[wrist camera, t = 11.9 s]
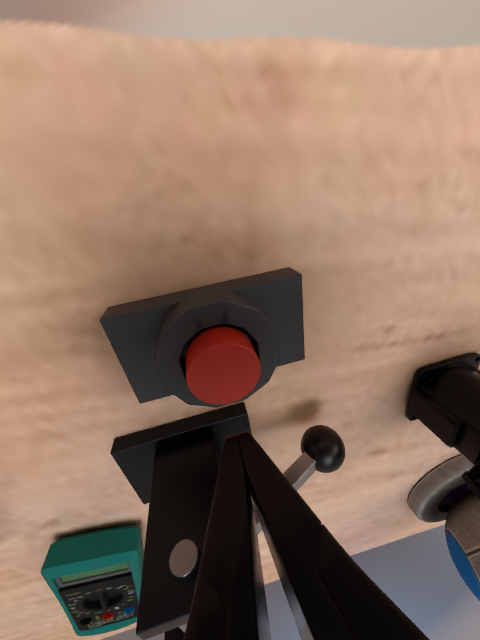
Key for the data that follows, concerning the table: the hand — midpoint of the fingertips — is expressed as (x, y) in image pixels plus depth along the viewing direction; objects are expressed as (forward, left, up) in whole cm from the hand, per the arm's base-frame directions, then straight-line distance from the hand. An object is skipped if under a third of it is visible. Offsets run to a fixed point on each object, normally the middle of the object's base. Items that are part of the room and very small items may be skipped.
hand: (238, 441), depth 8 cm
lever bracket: (+4, +11, -8) cm, 14 cm away
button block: (0, 0, -8) cm, 8 cm away
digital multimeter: (+16, +24, -9) cm, 30 cm away
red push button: (0, 0, -5) cm, 5 cm away
